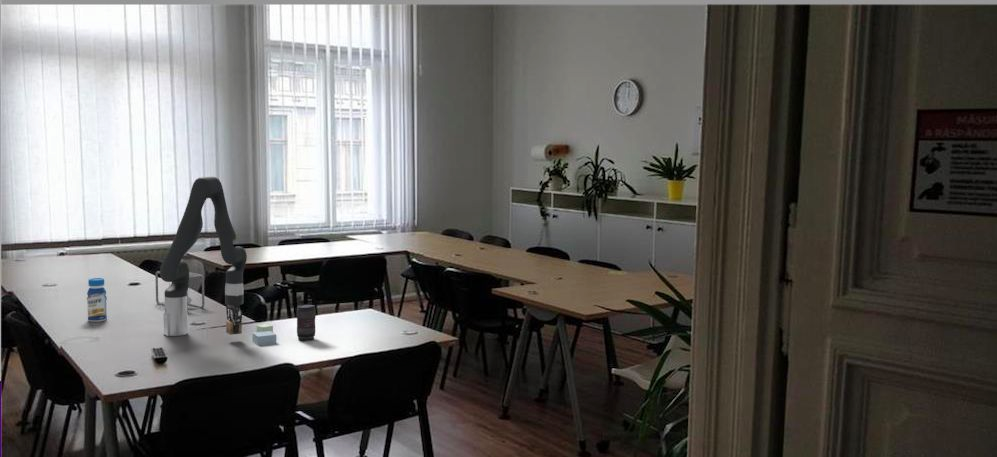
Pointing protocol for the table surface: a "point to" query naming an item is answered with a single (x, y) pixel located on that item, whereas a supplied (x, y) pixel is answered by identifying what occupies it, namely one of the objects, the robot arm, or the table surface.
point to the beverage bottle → (96, 300)
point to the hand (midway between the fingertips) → (234, 331)
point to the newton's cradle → (187, 291)
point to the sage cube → (264, 328)
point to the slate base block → (264, 338)
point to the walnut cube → (230, 327)
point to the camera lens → (306, 322)
